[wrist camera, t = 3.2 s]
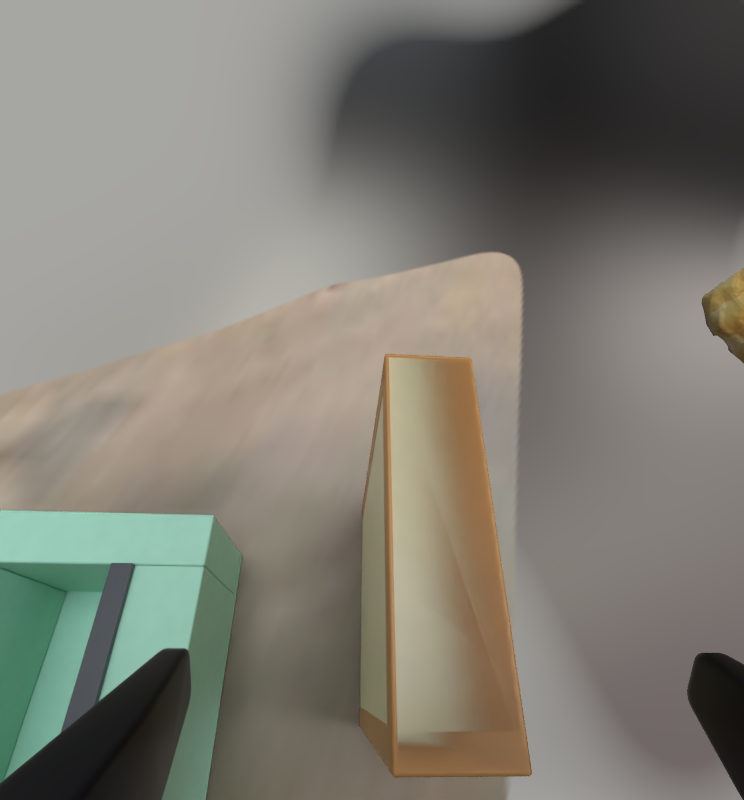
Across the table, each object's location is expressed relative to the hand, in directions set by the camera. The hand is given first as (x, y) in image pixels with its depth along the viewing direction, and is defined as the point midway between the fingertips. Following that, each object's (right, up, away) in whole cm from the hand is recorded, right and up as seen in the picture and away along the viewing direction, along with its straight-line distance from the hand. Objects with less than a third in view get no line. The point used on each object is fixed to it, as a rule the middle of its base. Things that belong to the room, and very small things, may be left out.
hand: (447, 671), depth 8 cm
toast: (-1, -3, +9) cm, 10 cm away
